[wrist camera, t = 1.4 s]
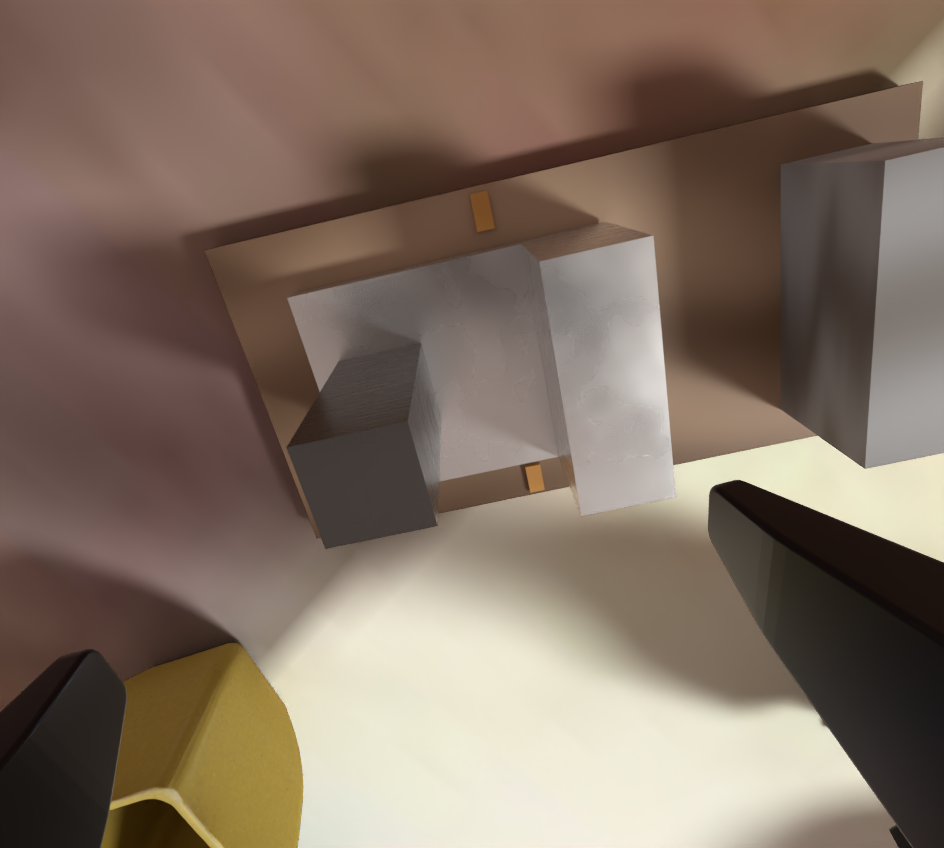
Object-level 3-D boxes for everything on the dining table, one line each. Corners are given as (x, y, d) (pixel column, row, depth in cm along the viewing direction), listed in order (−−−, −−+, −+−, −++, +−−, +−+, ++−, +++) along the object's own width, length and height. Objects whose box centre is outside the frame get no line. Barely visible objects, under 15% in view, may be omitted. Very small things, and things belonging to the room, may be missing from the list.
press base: (876, 410, 24) (1004, 480, 18) (321, 525, 25) (285, 623, 20) (900, 85, 19) (1081, 48, 14) (215, 247, 20) (128, 273, 15)
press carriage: (629, 431, 23) (713, 550, 15) (359, 488, 23) (318, 628, 16) (605, 221, 19) (696, 248, 12) (293, 293, 20) (205, 358, 13)
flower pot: (188, 766, 31) (92, 980, 23) (90, 652, 28) (-64, 855, 19) (336, 721, 30) (293, 928, 22) (254, 597, 27) (166, 786, 18)
